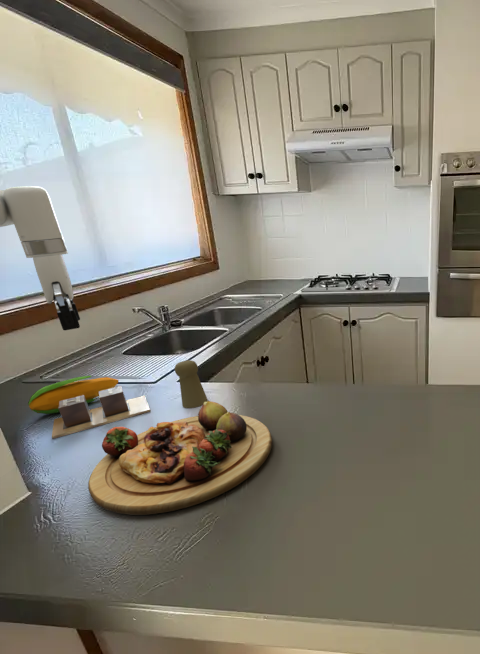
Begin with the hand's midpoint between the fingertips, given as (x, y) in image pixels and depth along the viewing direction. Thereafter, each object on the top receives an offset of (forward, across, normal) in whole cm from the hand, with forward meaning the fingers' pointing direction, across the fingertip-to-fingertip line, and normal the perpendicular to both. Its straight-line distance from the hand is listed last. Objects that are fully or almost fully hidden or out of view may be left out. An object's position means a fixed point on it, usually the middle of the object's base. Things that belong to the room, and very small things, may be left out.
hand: (72, 324), depth 98 cm
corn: (+22, -9, -5) cm, 25 cm away
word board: (+22, +4, 0) cm, 23 cm away
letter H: (+22, +4, -5) cm, 23 cm away
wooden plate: (+22, +40, +13) cm, 48 cm away
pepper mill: (+22, +12, +20) cm, 32 cm away
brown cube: (+22, +4, +3) cm, 22 cm away
